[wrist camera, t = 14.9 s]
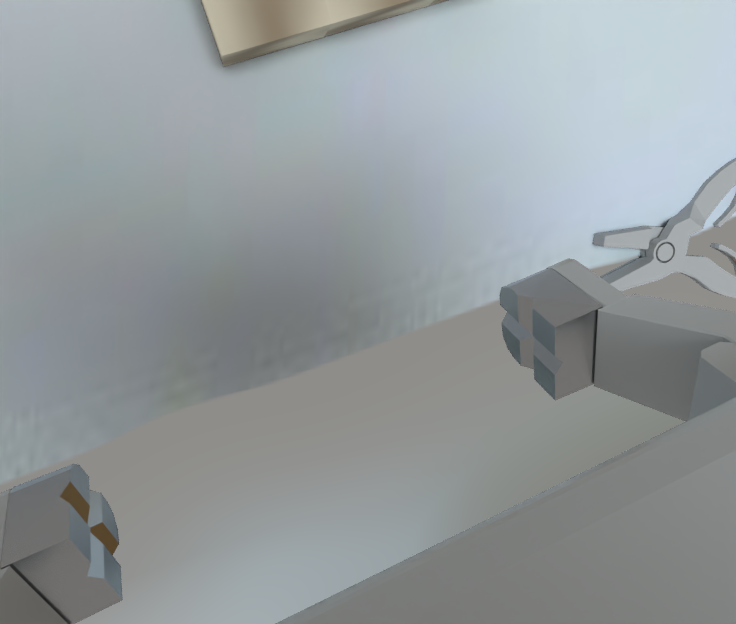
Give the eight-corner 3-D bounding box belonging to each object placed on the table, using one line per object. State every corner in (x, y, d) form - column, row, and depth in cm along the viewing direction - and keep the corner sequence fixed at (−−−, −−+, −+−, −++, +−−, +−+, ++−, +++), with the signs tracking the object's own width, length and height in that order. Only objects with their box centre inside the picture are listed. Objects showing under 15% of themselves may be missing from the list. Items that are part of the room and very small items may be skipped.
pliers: (827, 292, 39) (612, 346, 37) (805, 287, 40) (597, 339, 38) (831, 131, 36) (599, 179, 34) (807, 133, 38) (583, 179, 35)
